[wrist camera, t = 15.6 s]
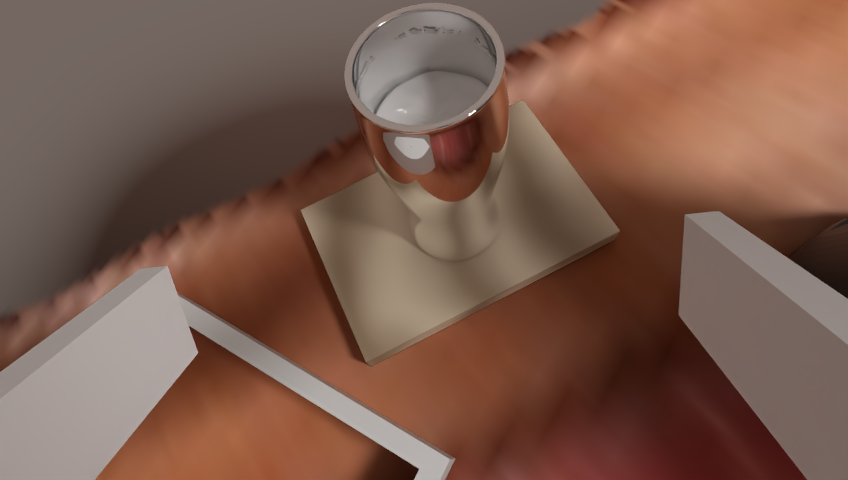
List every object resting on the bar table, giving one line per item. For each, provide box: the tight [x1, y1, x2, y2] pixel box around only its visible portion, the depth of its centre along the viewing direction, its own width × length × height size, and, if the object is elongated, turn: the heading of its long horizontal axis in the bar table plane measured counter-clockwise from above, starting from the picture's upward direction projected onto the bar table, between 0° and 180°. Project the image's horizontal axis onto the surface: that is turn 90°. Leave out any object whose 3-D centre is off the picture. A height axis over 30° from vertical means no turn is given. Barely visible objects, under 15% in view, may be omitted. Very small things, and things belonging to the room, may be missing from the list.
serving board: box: [301, 100, 620, 366], centre depth 35 cm, size 18×12×2 cm, turn 116°
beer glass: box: [344, 3, 509, 261], centre depth 27 cm, size 7×7×15 cm
